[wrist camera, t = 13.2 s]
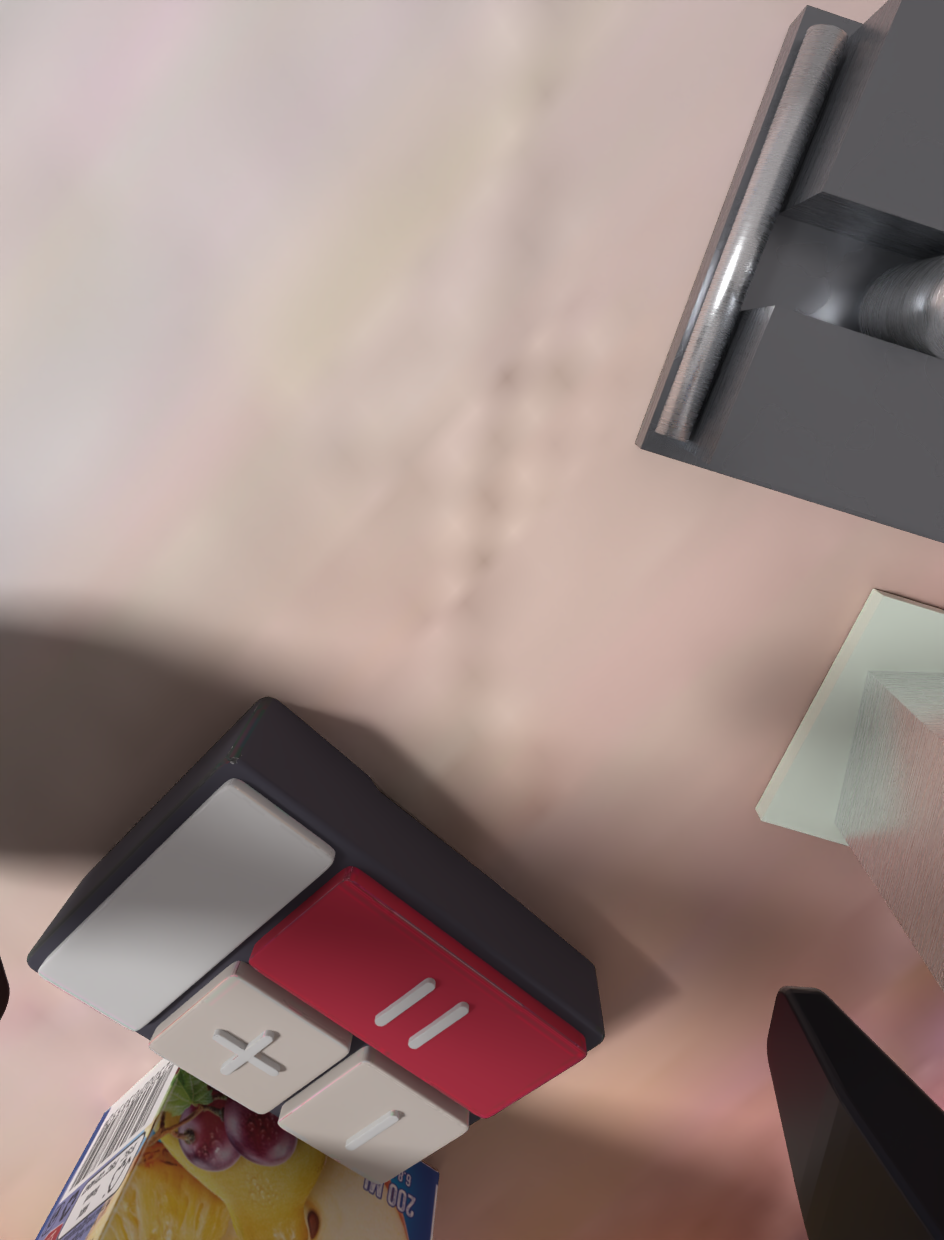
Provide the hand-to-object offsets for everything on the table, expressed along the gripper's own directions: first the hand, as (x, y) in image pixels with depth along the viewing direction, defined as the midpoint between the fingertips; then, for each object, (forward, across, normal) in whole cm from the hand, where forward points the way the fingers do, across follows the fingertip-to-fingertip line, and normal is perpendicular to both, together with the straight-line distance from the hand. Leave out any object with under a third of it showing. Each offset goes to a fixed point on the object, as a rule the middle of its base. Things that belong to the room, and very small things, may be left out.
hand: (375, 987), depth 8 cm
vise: (+13, -10, -8) cm, 18 cm away
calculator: (+14, +4, +12) cm, 19 cm away
